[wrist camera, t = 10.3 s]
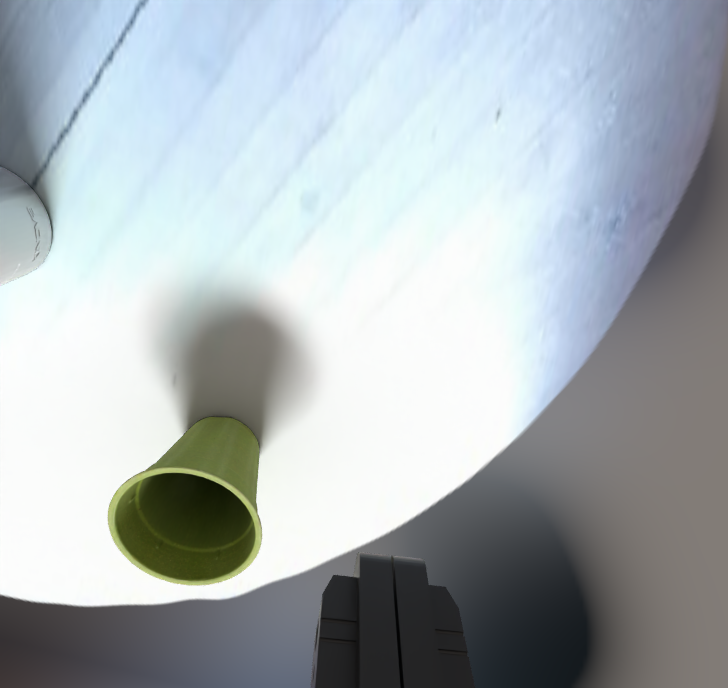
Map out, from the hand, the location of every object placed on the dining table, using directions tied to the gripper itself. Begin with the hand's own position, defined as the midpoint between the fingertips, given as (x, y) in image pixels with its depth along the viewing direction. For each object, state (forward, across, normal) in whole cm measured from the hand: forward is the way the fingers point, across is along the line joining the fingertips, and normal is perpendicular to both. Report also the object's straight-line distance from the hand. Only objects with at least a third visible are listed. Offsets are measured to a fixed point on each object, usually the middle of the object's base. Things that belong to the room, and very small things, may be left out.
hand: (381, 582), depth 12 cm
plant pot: (+33, +11, +21) cm, 41 cm away
